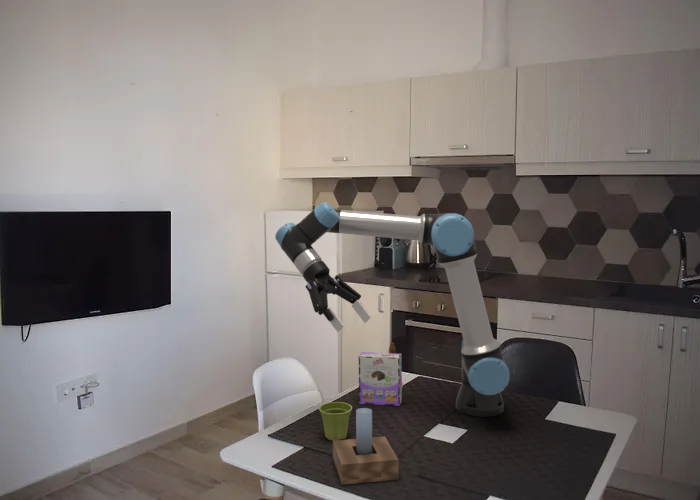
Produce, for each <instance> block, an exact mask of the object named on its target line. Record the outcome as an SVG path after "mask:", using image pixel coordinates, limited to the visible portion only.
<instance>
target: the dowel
mask: <svg viewBox="0 0 700 500" xmlns="http://www.w3.org/2000/svg"><path fill="white" fill-rule="evenodd" d="M355 427H356V428H355V430H356V431H355V434H356V437H355V439H356V455H365V454H372V437H373V410H372V409H371V408H368V407H362V408H361V407H360V408H357V409H356V411H355Z"/></svg>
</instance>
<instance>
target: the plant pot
mask: <svg viewBox="0 0 700 500" xmlns="http://www.w3.org/2000/svg"><path fill="white" fill-rule="evenodd" d="M318 410H319V412H320V416H321V418H322V422H323V423H322V424H323V429H324V435H325V436H324V437H325V438H327V440H329V441H332V442H333V441H336V440H346V438H347V436H348V428H349V427H348V426H349V422H350V421H349V420H350V416H351V412H352V410H353V406H352V405H351V404H349V403H347V402H341V401H330V402H326V403H323V404H321V405H320V406H319V407H318Z"/></svg>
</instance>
